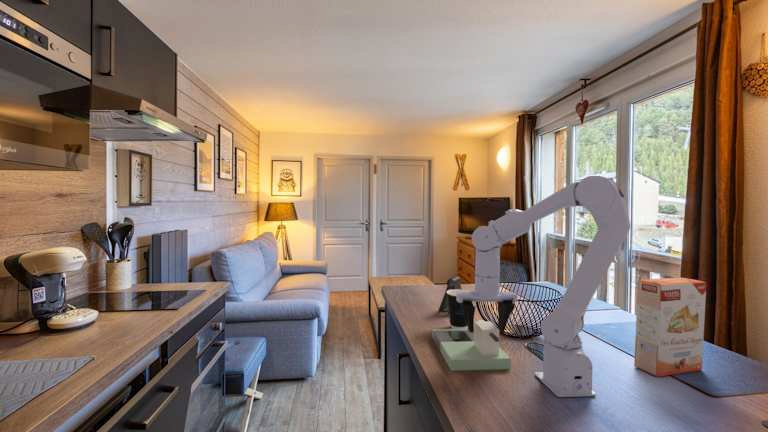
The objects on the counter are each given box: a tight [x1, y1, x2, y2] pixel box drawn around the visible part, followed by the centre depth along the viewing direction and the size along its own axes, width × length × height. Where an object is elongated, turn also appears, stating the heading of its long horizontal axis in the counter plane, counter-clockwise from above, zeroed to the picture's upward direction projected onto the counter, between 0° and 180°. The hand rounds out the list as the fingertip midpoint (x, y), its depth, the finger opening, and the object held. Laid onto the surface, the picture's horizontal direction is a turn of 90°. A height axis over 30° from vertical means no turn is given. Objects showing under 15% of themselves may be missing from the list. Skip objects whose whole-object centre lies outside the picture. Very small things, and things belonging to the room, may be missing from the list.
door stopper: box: [438, 276, 463, 314], centre depth 125 cm, size 9×6×12 cm, turn 57°
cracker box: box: [633, 277, 708, 378], centre depth 81 cm, size 14×6×21 cm, turn 105°
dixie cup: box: [446, 289, 471, 329], centre depth 108 cm, size 8×8×11 cm
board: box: [432, 327, 512, 372], centre depth 90 cm, size 20×14×2 cm
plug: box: [474, 319, 500, 355], centre depth 84 cm, size 10×4×6 cm, turn 4°
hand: (486, 330), depth 85 cm, fingers open, 7 cm apart
